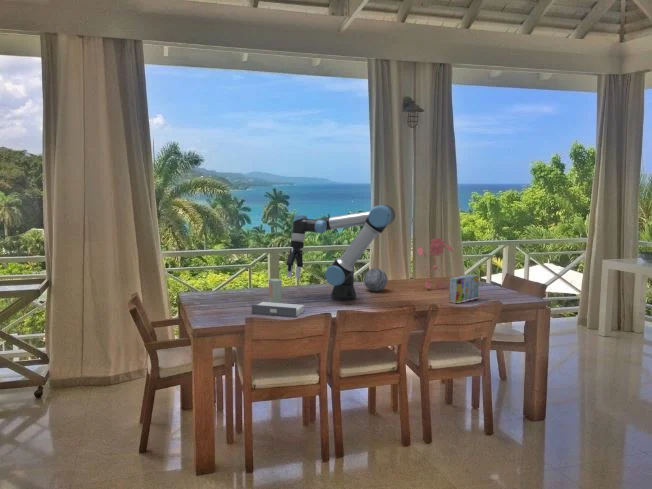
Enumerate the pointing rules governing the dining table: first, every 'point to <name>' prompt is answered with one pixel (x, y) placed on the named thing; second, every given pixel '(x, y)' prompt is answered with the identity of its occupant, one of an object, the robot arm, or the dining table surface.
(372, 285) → the decorative orb
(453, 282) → the snack box
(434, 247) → the figurine
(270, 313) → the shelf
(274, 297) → the carton
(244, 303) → the dining table surface
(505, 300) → the dining table surface
